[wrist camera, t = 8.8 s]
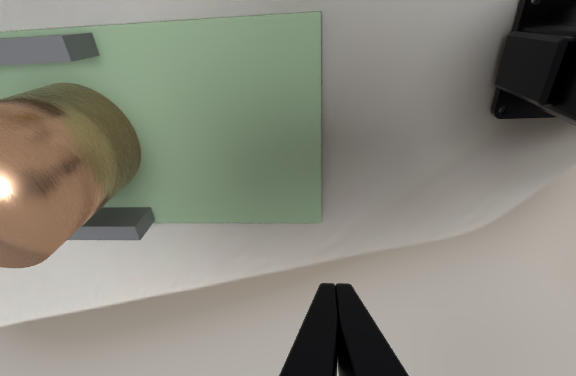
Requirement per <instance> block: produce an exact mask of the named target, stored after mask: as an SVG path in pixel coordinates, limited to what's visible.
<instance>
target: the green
mask: <svg viewBox="0 0 576 376" xmlns="http://www.w3.org/2000/svg"><path fill="white" fill-rule="evenodd" d="M76 33H92V34H93V37H94V40H95V43H96V46H97V49H98V52H99V55H100V56H95V57H91V58H86V59H82V60H77V61H73V62H57V63H39V64H20V65H1V66H0V99H2V98H6V97H9V96H12V95H16V94H19V93H23V92H26V91H30V90H33V89H37V88H40V87H44V86H47V85H51V84H55V83H73V84H79V85H82V86H85V87H88V88H90V89H92V90H95V91H97V92H98V93H100V94H102V95H103V96H105V97H106V98H108V99H109V100H110V101H112V102H113V103H114V104H115V105H116V106H117V107H118V108H119V109H120V110H121V111H122V112H123V113H124V114H125V116H126V117H127V118H128V119H129V121H130V123H131V124H132V126H133V127H134V130H135V132H136V134H137V136H138V139H139V143H140V147H141V162H140V167H139V169H138V171H137V173H136V175H135V176H134V177H133V178H132V179H131V181H129V182H128V183H127V184H126V185H125V186H124V187H123V188H122V189H121V190H120V191H119V192H118V193H117V194H116V195H114V196H113V197H112V198H111V199H110V200H109V201H108V202H107V203H106V204H105V205H104V206H103V207H151V209H152V212H153V215H154V218H155V221H154V222H153V223H322V220H321V11H318V12H303V13H288V14H272V15H257V16H241V17H226V18H211V19H195V20H180V21H165V22H149V23H134V24H118V25H103V26H88V27H72V28H57V29H41V30H26V31H11V32H0V38H12V37H28V36H44V35H60V34H76Z"/></svg>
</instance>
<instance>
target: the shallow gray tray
mask: <svg viewBox="0 0 576 376" xmlns="http://www.w3.org/2000/svg"><path fill="white" fill-rule="evenodd" d="M95 56H100V55H99V52H98V49H97V46H96V43H95V40H94V37H93V34H92V33H76V34H60V35H44V36H28V37H12V38H0V66H1V65H20V64H39V63H57V62H73V61H77V60H82V59H86V58H91V57H95ZM154 221H155V218H154V215H153V212H152V209H151V207H102V208H101V209H100V210H98V211H97V212H96V213H95V214H94V215H93V216H92V217H91V218H90V219H89V220H88V221H87V222H86V223H85V224H83V225H82V226H81V227H80V228H79V229H78V230H77V231H76V232H75V233H74V234H73V235H72V236H71V237H70V238H69V239H67V240H141V238H142V237H143V236H144V234H145V233H146V232H147V230H148V229H149V228H150V226H151V225H152V224H153V222H154Z"/></svg>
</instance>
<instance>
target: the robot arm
mask: <svg viewBox="0 0 576 376" xmlns="http://www.w3.org/2000/svg"><path fill="white" fill-rule="evenodd" d="M495 84H496V85H497V89H496V92H495V96H494V100H493V103H492V107H491V114H492V115H493V116H495V117H496V118H498V119H516V118H549V117H558V118H560V119H562V120H564V121H566V122H569V123H571V124H573V125H575V126H576V0H536V2H535V3H534V4H532V3H531V0H521V2H520V5H519V9H518V12H517V16H516V20H515V23H514V27H513V31H512V33H511V34H510V35H509V36H508V38H507V42H506V45H505V49H504V53H503V56H502V60H501V64H500V67H499V71H498V75H497V78H496V82H495ZM503 106H505V109H504V110H503V111H502V112H500V113H499V109H500V108H501V107H503ZM337 362H338V372H339V376H409V375H408V374H407V372H406V371H405V369H404V367H403V366H402V364H401V363H400V361H399V360H398V358H397V356H396V355H395V353H394V352H393V350H392V349H391V347H390V345H389V344H388V342H387V341H386V339H385V337H384V336H383V334H382V333H381V331H380V330H379V328H378V326H377V325H376V323H375V322H374V320H373V318H372V317H371V315H370V314H369V312H368V310H367V309H366V307H365V306H364V304H363V303H362V301H361V299H360V298H359V296H358V295H357V293H356V292H355V290H354V288H353V287H352V285H351V284H344V283H338V284H336V286H335V284H333V283H321V284H320V285H319V288H318V290H317V292H316V294H315V297H314V299H313V301H312V303H311V306H310V308H309V310H308V312H307V314H306V317H305V319H304V321H303V324H302V326H301V328H300V330H299V333H298V335H297V337H296V340H295V342H294V344H293V346H292V348H291V350H290V353H289V355H288V357H287V359H286V362H285V364H284V366H283V368H282V371H281V373H280V375H279V376H337Z"/></svg>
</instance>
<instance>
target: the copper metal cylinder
mask: <svg viewBox="0 0 576 376" xmlns="http://www.w3.org/2000/svg"><path fill="white" fill-rule="evenodd" d="M140 162H141V147H140V143H139V139H138V136H137V134H136V132H135V130H134V127H133V126H132V124H131V123H130V121H129V119H128V118H127V117H126V116H125V114H124V113H123V112H122V111H121V110H120V109H119V108H118V107H117V106H116V105H115V104H114V103H113V102H112V101H110V100H109V99H108V98H106V97H105V96H103V95H102V94H100V93H98V92H97V91H95V90H92V89H90V88H88V87H85V86H82V85H79V84H73V83H55V84H51V85H47V86H44V87H40V88H37V89H33V90H30V91H26V92H23V93H19V94H16V95H12V96H9V97H6V98H2V99H0V267H5V268H24V267H30V266H34V265H37V264H39V263H41V262H43V261H44V260H46V259H47V258H48V257H49V256H50V255H51V254H52V253H54V252H55V251H56V250H57V249H58V248H59V247H60V246H61V245H62V244H63V243H64V242H65V241H66V240H67V239H69V238H70V237H71V236H72V235H73V234H74V233H75V232H76V231H77V230H78V229H79V228H80V227H81V226H82V225H83V224H85V223H86V222H87V221H88V220H89V219H90V218H91V217H92V216H93V215H94V214H95V213H96V212H97V211H98V210H100V209H101V208H102V207H103V206H104V205H105V204H106V203H107V202H108V201H109V200H110V199H111V198H112V197H113V196H114V195H116V194H117V193H118V192H119V191H120V190H121V189H122V188H123V187H124V186H125V185H126V184H127V183H128V182H129V181H131V179H132V178H133V177H134V176H135V175H136V173H137V171H138V169H139V167H140Z"/></svg>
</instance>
